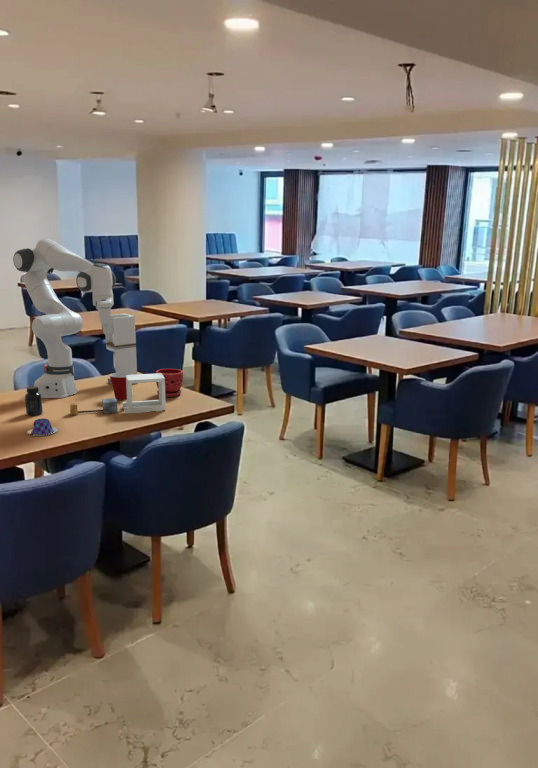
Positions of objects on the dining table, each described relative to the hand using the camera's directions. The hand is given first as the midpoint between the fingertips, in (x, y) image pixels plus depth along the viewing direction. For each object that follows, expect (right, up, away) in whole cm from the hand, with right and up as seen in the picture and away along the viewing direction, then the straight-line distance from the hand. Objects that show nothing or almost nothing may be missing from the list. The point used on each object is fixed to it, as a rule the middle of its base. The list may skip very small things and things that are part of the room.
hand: (104, 332), depth 307 cm
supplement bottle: (-29, -36, -5) cm, 47 cm away
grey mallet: (-4, -36, -3) cm, 36 cm away
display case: (-2, -23, +49) cm, 54 cm away
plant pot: (+25, -29, +28) cm, 47 cm away
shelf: (+17, -34, +3) cm, 39 cm away
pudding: (-18, -43, -29) cm, 55 cm away
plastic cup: (+3, -30, +21) cm, 37 cm away
